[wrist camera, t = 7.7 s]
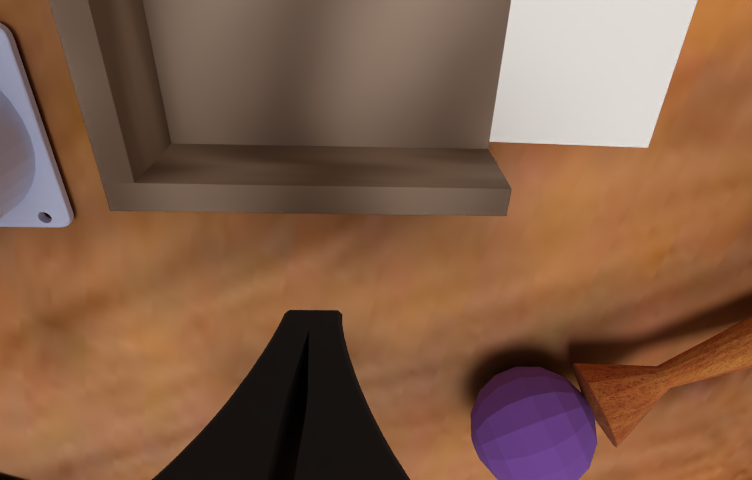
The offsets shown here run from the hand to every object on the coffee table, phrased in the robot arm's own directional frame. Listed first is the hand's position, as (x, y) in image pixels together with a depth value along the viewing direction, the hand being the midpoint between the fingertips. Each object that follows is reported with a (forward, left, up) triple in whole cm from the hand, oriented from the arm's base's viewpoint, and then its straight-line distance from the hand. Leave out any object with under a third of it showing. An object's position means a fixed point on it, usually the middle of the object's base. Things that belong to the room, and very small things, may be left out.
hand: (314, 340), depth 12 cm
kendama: (+16, -9, -10) cm, 21 cm away
